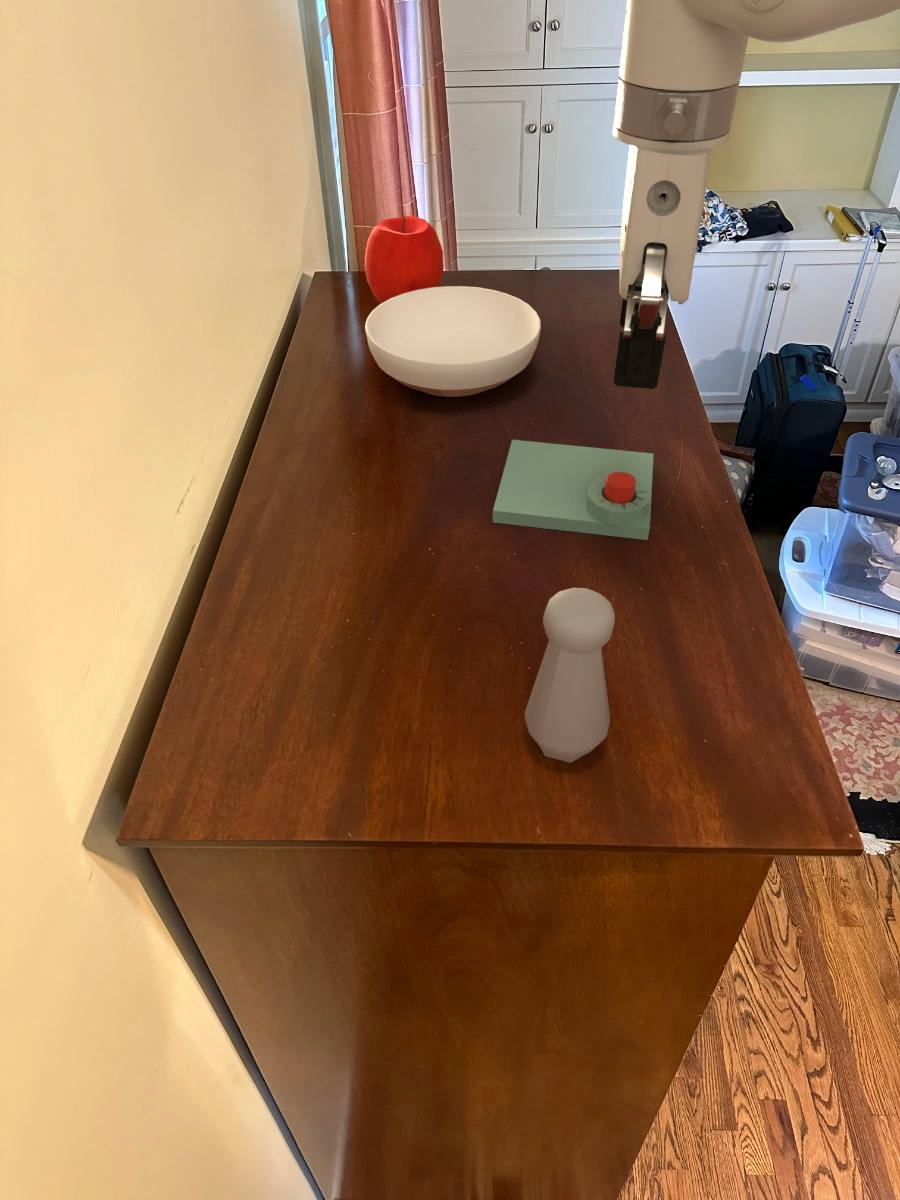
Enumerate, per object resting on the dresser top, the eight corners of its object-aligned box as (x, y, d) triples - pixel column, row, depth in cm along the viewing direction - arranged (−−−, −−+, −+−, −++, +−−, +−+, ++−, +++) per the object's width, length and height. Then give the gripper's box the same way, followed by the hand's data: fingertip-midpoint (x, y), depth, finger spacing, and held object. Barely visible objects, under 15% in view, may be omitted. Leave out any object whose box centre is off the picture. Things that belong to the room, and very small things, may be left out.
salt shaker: (604, 710, 62) (628, 575, 54) (607, 775, 58) (633, 641, 49) (524, 704, 63) (534, 570, 54) (521, 769, 59) (531, 634, 50)
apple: (409, 339, 106) (404, 238, 97) (351, 317, 110) (342, 219, 102) (460, 311, 111) (459, 213, 103) (403, 292, 116) (398, 197, 108)
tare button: (634, 489, 78) (636, 473, 77) (632, 506, 76) (635, 489, 75) (605, 486, 78) (607, 469, 77) (603, 502, 76) (605, 486, 75)
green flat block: (651, 465, 85) (656, 439, 83) (647, 542, 76) (652, 515, 74) (511, 451, 87) (512, 425, 85) (492, 524, 79) (492, 497, 77)
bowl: (337, 365, 101) (331, 315, 97) (468, 320, 109) (468, 272, 105) (434, 436, 90) (433, 383, 85) (573, 379, 98) (578, 328, 94)
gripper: (740, 153, 49) (686, 416, 61) (727, 80, 61) (685, 310, 73) (607, 147, 50) (580, 407, 62) (621, 76, 62) (596, 304, 74)
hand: (637, 354), depth 67 cm, fingers open, 9 cm apart
